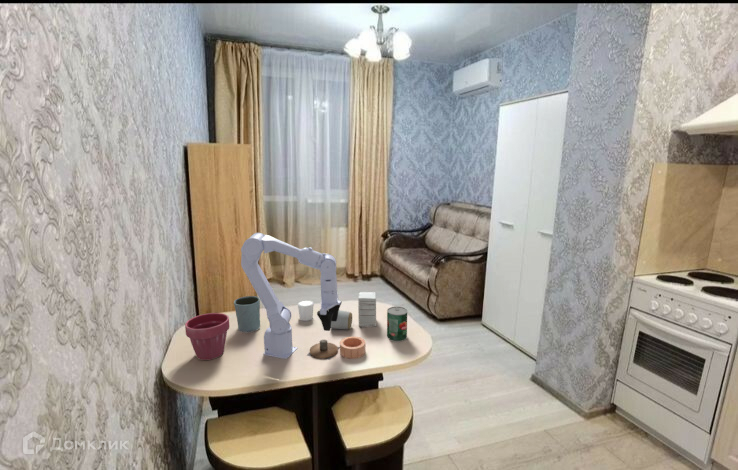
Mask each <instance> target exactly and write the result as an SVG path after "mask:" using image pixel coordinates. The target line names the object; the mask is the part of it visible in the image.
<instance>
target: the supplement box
mask: <svg viewBox="0 0 738 470" xmlns="http://www.w3.org/2000/svg"><path fill="white" fill-rule="evenodd" d="M357 298H358V299H357V301H358V302H357V303H358V306H357V307H358V327H371V328H372V327H376V326H377V292H375V291H369V292H368V291H360V292H359V293H358V297H357Z"/></svg>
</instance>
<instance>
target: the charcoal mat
mask: <svg viewBox="0 0 738 470" xmlns="http://www.w3.org/2000/svg"><path fill="white" fill-rule="evenodd" d="M337 348H338V350H340V346H337ZM306 356H308V357H312V356H311V354H310V351H309V352H308V353H307V355H306ZM333 357H334V356H332V357H329V358H323V360H329V361H330V360H331V359H332V358H333Z"/></svg>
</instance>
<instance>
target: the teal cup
mask: <svg viewBox="0 0 738 470" xmlns="http://www.w3.org/2000/svg"><path fill="white" fill-rule="evenodd" d="M233 305H234V310H235V316H236V320H237V321H236V322H237V328H238V331H239V332H242V333H252V332H255V331H258V330H259V329H260V327H261V313H260V312H261V309H260V308H261V300H260V298H259V296H254V295H249V296H248V295H247V296H243V297H242V296H241V297H239V298H237V299H234V301H233Z"/></svg>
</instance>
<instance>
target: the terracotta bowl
mask: <svg viewBox="0 0 738 470" xmlns="http://www.w3.org/2000/svg"><path fill="white" fill-rule="evenodd" d="M339 347H340V348H339V354H340V356H341V357H343V358H345V359H359V358H361V357H363V356H365V354H366V341H365V339H364V338H362V337H359V336H348V337H347V336H345V337H344V338H342V339H341V340H340V341H339Z"/></svg>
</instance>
